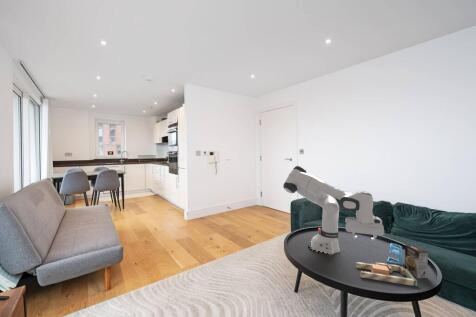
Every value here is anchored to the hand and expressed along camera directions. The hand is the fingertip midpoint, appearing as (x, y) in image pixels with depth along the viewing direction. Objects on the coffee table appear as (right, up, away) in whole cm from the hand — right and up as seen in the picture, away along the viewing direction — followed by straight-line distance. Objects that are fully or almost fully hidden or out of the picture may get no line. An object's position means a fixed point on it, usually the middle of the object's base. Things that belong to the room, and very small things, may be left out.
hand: (363, 240), depth 128 cm
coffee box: (+30, -20, -1) cm, 37 cm away
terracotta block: (+8, -20, -2) cm, 22 cm away
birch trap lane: (+11, -20, -1) cm, 23 cm away
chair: (+28, -20, +12) cm, 37 cm away
